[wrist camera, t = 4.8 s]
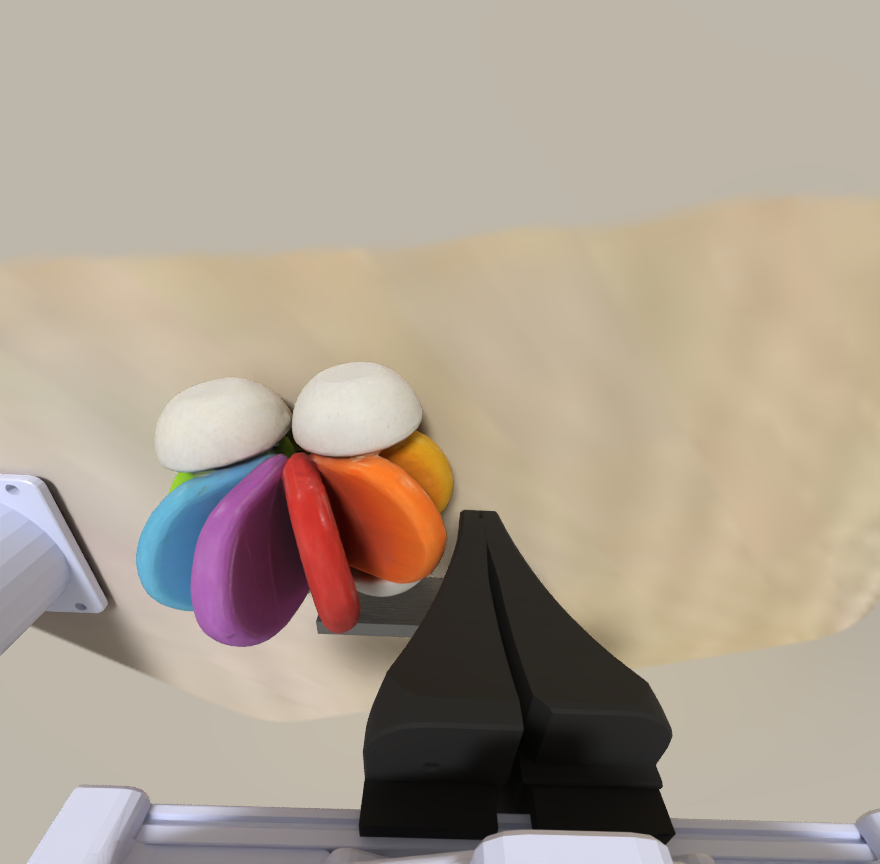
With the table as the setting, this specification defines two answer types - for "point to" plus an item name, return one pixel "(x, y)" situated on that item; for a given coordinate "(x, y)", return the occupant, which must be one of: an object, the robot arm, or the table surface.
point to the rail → (392, 611)
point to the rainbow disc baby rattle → (293, 502)
